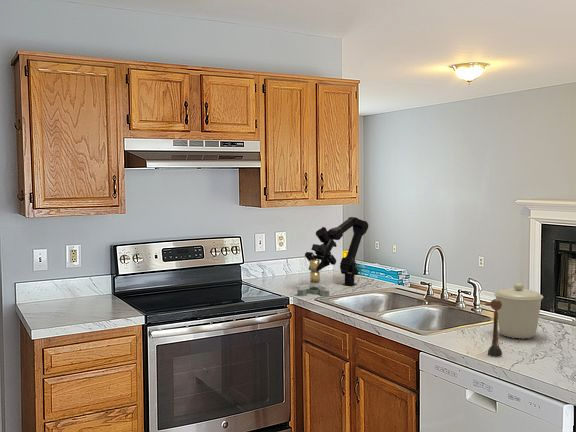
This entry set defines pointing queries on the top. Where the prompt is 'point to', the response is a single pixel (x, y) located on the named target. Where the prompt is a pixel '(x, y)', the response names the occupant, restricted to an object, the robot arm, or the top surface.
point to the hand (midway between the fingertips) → (313, 270)
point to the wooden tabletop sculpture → (495, 329)
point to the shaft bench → (312, 290)
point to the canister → (518, 311)
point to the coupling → (314, 271)
